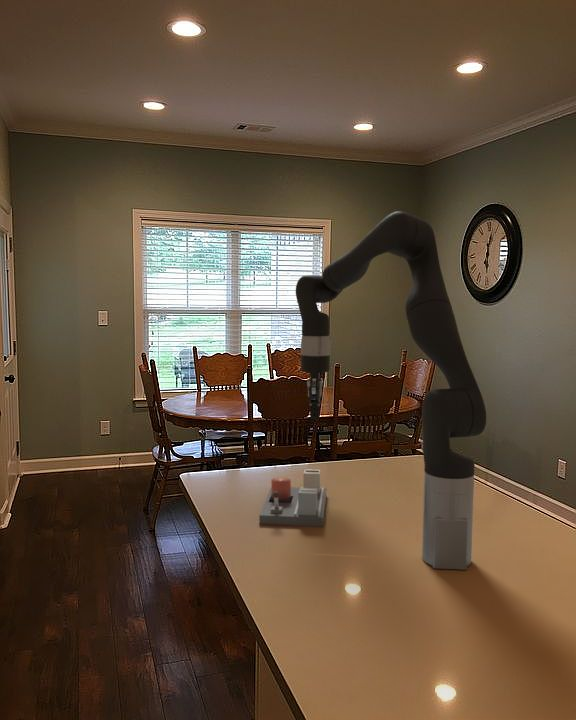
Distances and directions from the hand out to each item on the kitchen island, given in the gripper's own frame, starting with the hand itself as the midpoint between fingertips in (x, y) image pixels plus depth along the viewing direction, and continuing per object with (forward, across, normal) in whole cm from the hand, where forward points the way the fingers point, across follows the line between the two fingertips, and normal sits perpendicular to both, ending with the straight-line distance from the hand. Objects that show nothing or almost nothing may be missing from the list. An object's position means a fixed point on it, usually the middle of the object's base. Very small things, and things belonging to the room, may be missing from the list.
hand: (314, 419), depth 167 cm
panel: (+18, -17, +4) cm, 25 cm away
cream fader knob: (+16, -9, 0) cm, 19 cm away
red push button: (+16, -16, +7) cm, 24 cm away
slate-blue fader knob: (+16, -25, 0) cm, 30 cm away
